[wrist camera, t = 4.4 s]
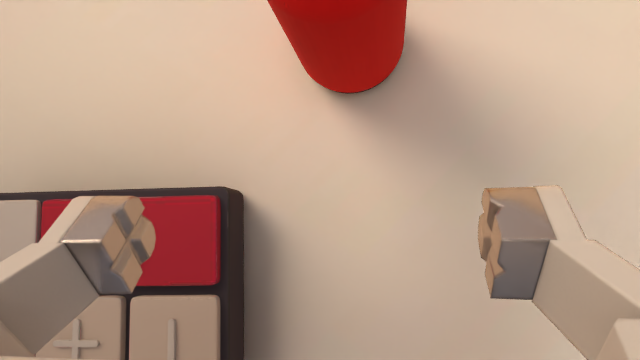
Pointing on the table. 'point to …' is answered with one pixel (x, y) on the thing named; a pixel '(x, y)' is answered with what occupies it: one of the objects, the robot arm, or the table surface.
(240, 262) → the calculator
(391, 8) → the beverage can
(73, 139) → the table surface
